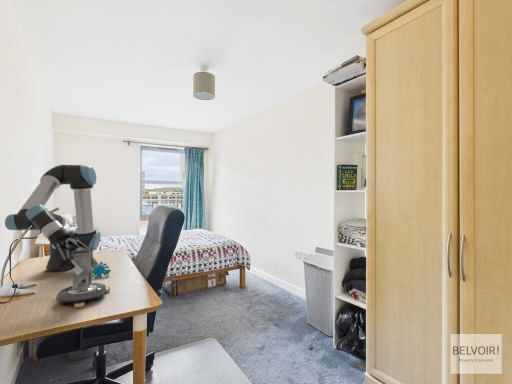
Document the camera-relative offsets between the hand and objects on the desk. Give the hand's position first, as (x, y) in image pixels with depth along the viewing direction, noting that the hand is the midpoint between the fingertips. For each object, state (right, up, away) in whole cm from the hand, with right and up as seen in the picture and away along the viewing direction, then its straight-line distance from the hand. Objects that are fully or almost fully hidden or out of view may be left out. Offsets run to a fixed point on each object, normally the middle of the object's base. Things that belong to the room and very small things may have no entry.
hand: (89, 269), depth 119 cm
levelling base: (-4, -13, 0) cm, 14 cm away
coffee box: (-3, -7, 0) cm, 8 cm away
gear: (-14, -14, +31) cm, 36 cm away
